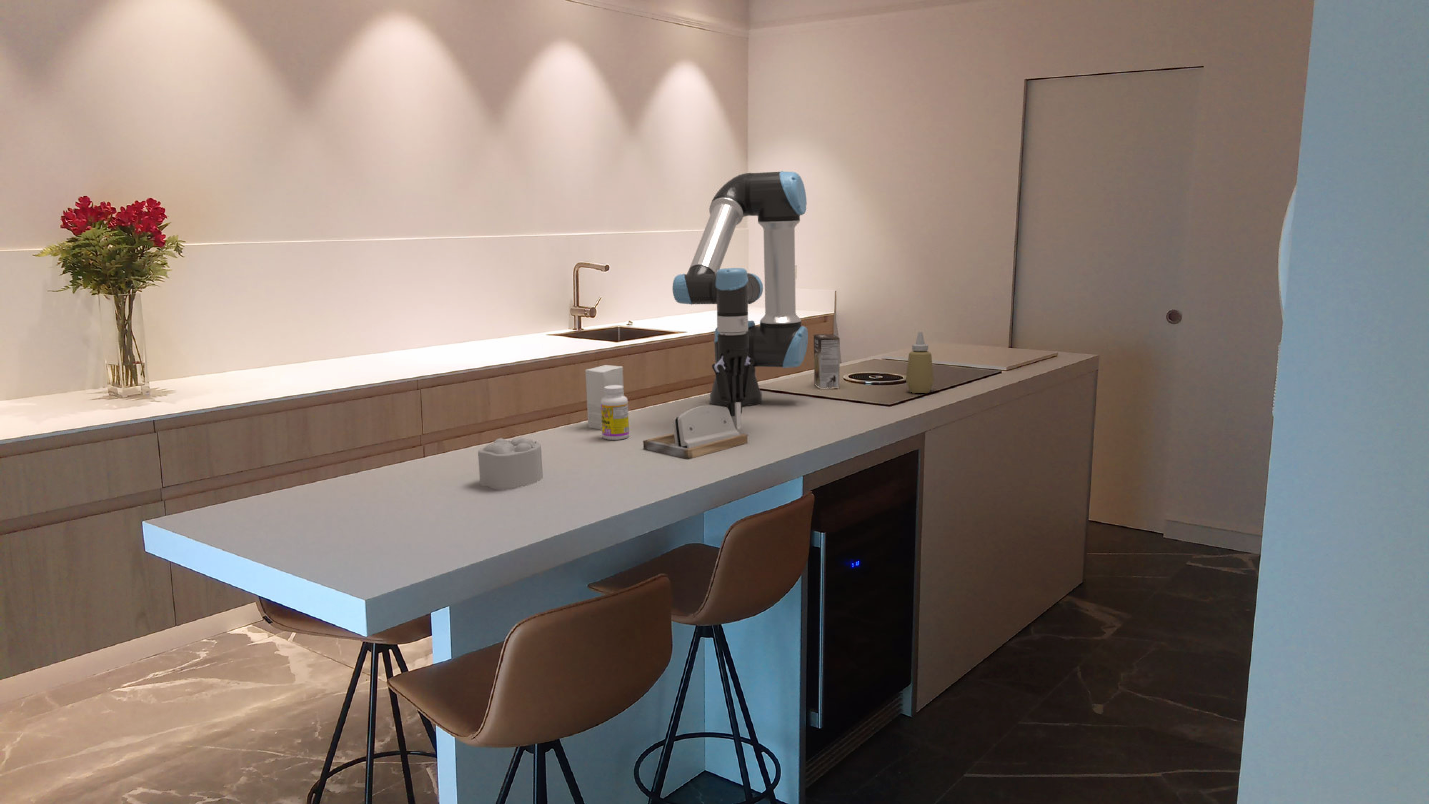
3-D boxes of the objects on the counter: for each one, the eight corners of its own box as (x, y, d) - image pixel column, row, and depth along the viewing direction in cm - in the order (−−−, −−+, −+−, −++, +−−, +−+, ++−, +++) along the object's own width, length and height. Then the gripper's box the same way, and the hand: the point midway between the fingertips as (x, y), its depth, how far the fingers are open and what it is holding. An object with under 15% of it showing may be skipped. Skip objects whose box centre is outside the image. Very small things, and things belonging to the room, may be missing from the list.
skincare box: (608, 422, 256) (605, 364, 253) (627, 424, 252) (624, 366, 249) (586, 428, 249) (583, 368, 246) (605, 430, 245) (603, 370, 242)
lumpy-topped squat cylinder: (473, 483, 199) (470, 443, 197) (523, 470, 209) (521, 431, 207) (504, 492, 192) (502, 450, 191) (554, 477, 202) (552, 437, 201)
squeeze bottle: (912, 389, 292) (913, 330, 289) (937, 391, 287) (938, 331, 284) (901, 393, 286) (901, 333, 282) (926, 395, 281) (927, 334, 278)
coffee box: (813, 384, 304) (813, 334, 301) (833, 384, 304) (833, 333, 301) (819, 390, 295) (819, 337, 292) (840, 389, 295) (840, 337, 292)
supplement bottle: (599, 436, 239) (596, 385, 237) (624, 433, 242) (622, 383, 239) (607, 441, 233) (604, 390, 231) (632, 438, 236) (630, 387, 233)
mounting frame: (643, 448, 225) (643, 440, 225) (702, 434, 239) (702, 426, 238) (688, 459, 215) (688, 450, 214) (747, 443, 228) (747, 434, 228)
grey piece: (688, 451, 221) (678, 409, 222) (676, 454, 225) (666, 413, 225) (742, 439, 231) (732, 399, 232) (730, 442, 235) (720, 403, 236)
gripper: (725, 336, 224) (727, 435, 229) (762, 331, 233) (764, 425, 238) (702, 334, 229) (705, 430, 234) (739, 329, 238) (741, 421, 243)
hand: (735, 428), depth 236 cm, fingers closed
